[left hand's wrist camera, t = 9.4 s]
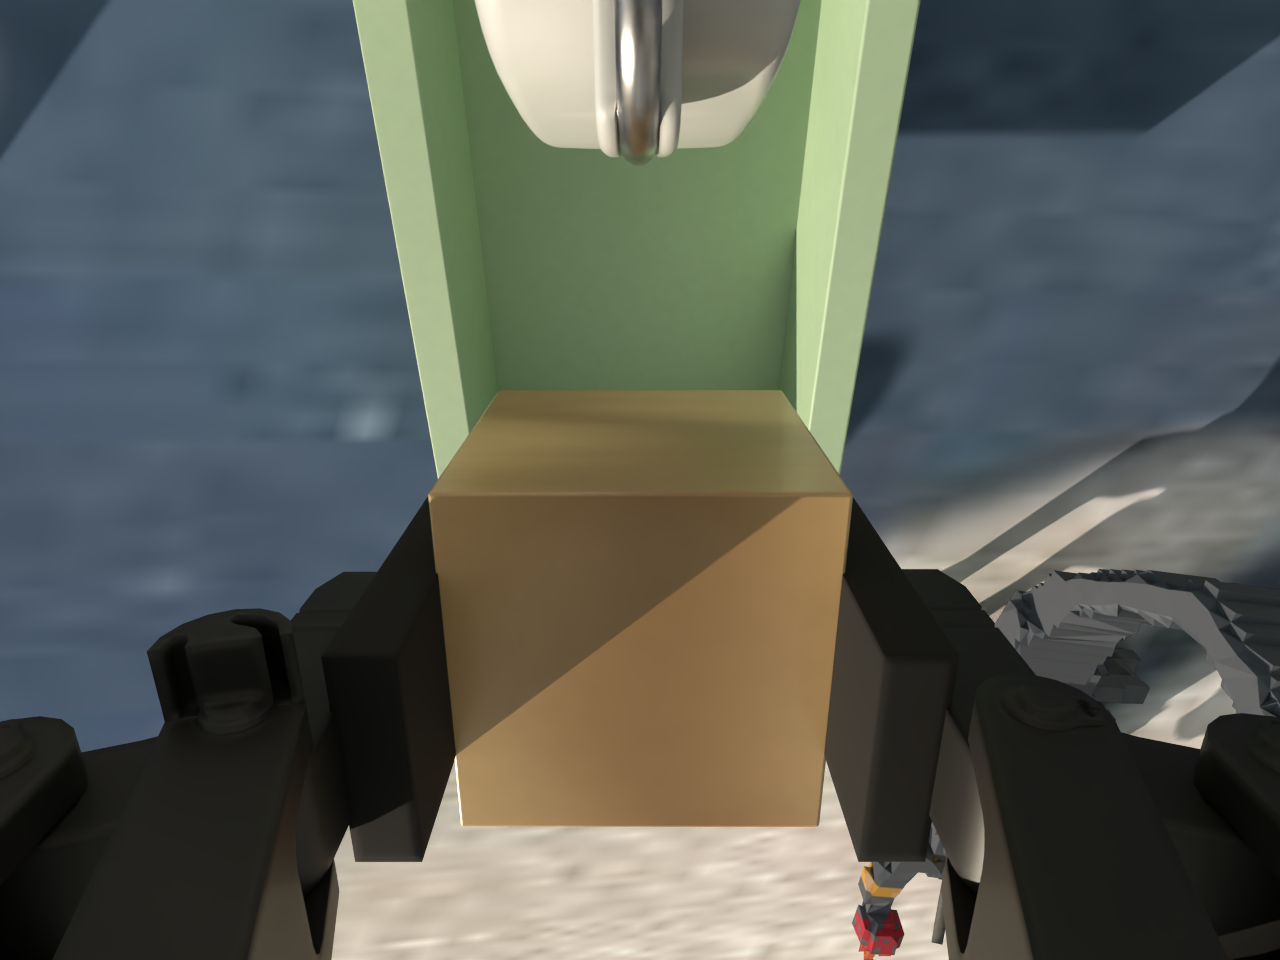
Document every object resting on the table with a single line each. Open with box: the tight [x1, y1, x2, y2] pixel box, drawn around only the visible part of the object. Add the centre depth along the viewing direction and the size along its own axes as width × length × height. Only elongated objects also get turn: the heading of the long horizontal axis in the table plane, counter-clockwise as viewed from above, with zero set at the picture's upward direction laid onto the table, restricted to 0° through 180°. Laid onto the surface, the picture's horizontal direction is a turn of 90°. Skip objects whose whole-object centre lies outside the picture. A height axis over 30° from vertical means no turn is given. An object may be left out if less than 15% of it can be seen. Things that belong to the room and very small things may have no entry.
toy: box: [852, 569, 1280, 960], centre depth 31 cm, size 13×27×18 cm, turn 172°
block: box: [428, 390, 853, 827], centre depth 12 cm, size 5×5×5 cm
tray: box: [353, 0, 921, 479], centre depth 22 cm, size 12×22×6 cm, turn 0°
